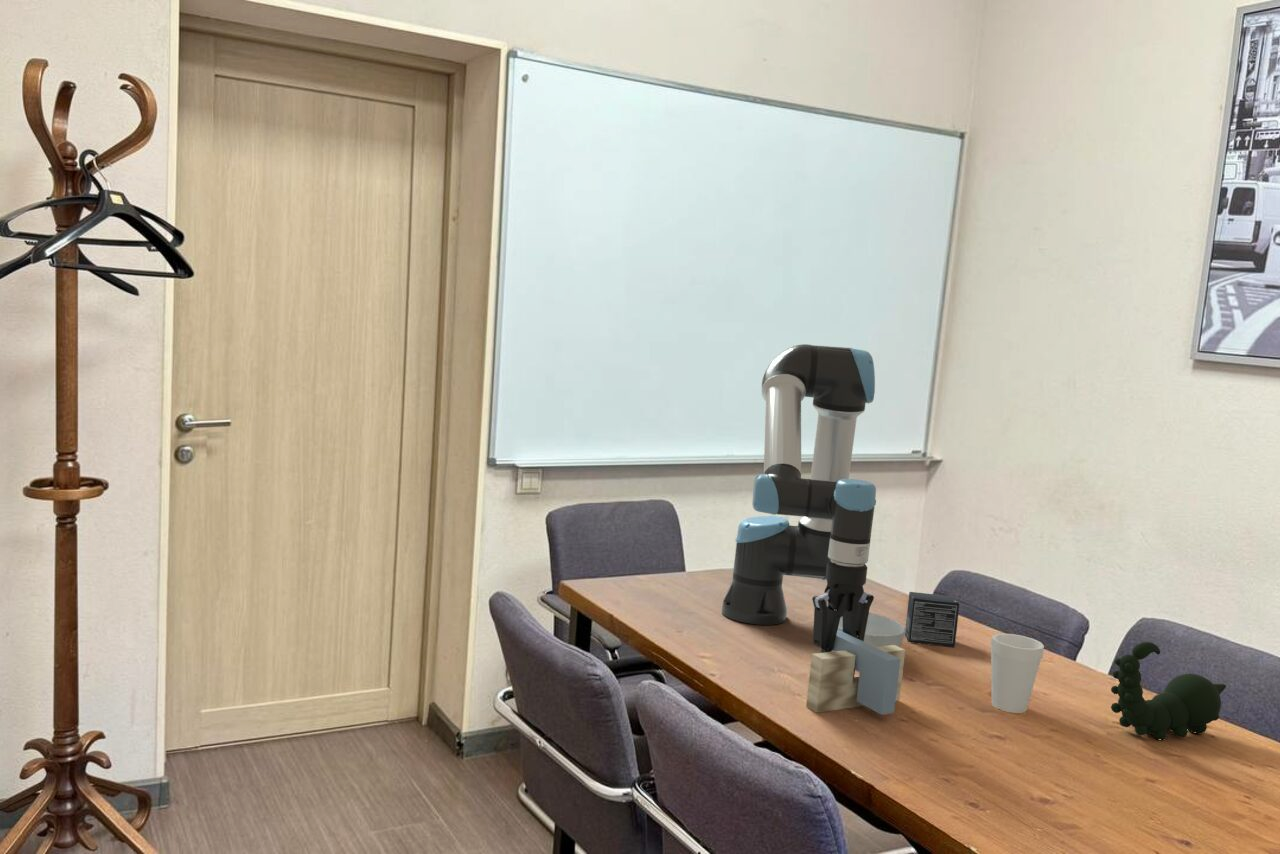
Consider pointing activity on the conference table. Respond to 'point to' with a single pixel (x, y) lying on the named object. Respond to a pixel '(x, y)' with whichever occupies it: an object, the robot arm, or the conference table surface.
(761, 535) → the robot arm
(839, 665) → the notched birch block
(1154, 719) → the toy figurine
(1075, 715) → the conference table surface
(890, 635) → the cereal bowl
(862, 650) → the blue-grey arch block
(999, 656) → the foam cup
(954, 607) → the small box
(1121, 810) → the conference table surface
